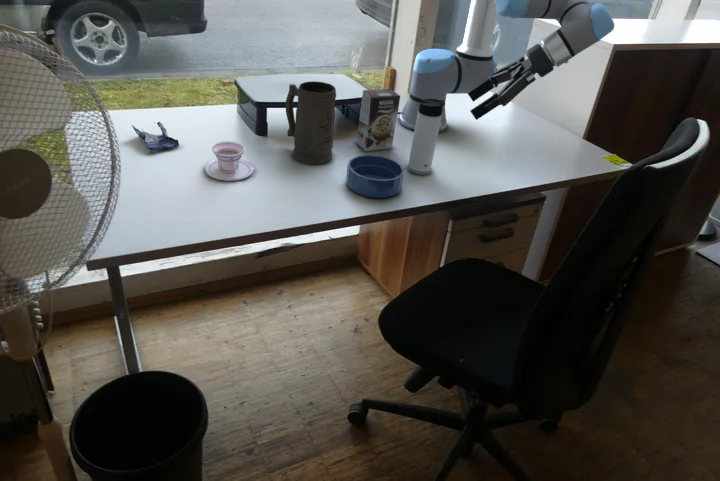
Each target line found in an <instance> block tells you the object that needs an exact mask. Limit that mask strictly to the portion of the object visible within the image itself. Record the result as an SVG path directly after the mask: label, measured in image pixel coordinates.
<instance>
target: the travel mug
mask: <svg viewBox="0 0 720 481" xmlns="http://www.w3.org/2000/svg"><path fill="white" fill-rule="evenodd" d="M443 105H444V106H445V107H446V100H445V101H441V100H438V99H424V100H422V101H421V102H420V104H419V110H418V114H417V120H416V125H415V130H413V137H412V142H411V148H410V152H409V154H410V155H409V159H408V165H407V169H408V171H409V172H411V173H413V174H415V175H418V176H419V175H420V176H425V175H428V174H430V172H431V169H432V165H433V159H434V155H435V150H436V145H437V140H438V135H439V132H438V131H439V126H440V121H441V116H442V111H443Z"/></svg>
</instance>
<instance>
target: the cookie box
mask: <svg viewBox="0 0 720 481" xmlns="http://www.w3.org/2000/svg"><path fill="white" fill-rule="evenodd" d="M400 101H401V95H400V94H399V93H397V92H395V91H393V90H392V89H391V88H382V89H363V90H362V96H361V102H360V103H361V105H360V111H359V119H358V125H357V126H358V128H357V134H356V141H355V142H356V144H357V145H358V146H359V147H360V148H361V149H363V151H364V152H372V151H379V150H380V151H381V150H389V149H392V148H393V145H394V137H395V131H396V126H397V120H398V115H399V114H398V112H399V109H400V108H399V107H400Z"/></svg>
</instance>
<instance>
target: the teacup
mask: <svg viewBox="0 0 720 481" xmlns="http://www.w3.org/2000/svg"><path fill="white" fill-rule="evenodd" d="M211 151H212V153H213V154H214V155H215V158H216V159H214V160H211V161H209V162H208V163H206V165H205V167H204V172H205V173H206V174H207V176H209V177H211V178H212V179H214V180H218V181H219V180H220V181H225V182H235V181H241V180H244V179H247V178H249V177H251V176H252V175H253V173H254V166H253V165H252V164H251V163H250V162H248V161H246V160H243V159H241V158H242V155H244V153H245V147H244V145H242V144H241V143H239V142H237V141H231V140H221V141H218V142H215V143H214V144H213V145H212V148H211Z"/></svg>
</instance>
